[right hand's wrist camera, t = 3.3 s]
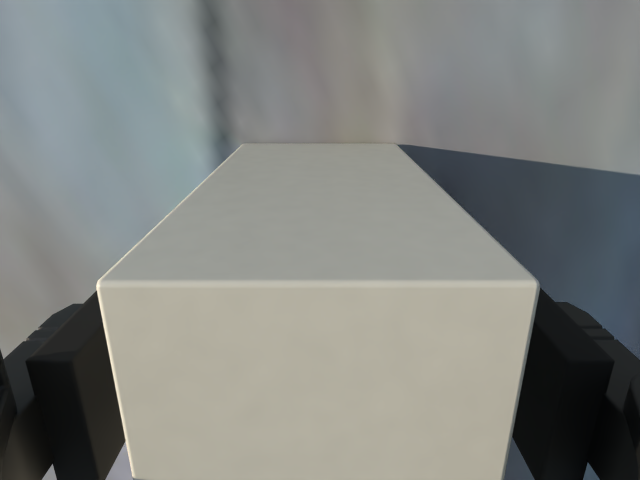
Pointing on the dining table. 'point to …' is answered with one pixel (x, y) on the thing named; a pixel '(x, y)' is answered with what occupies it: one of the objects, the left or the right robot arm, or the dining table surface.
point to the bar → (318, 326)
